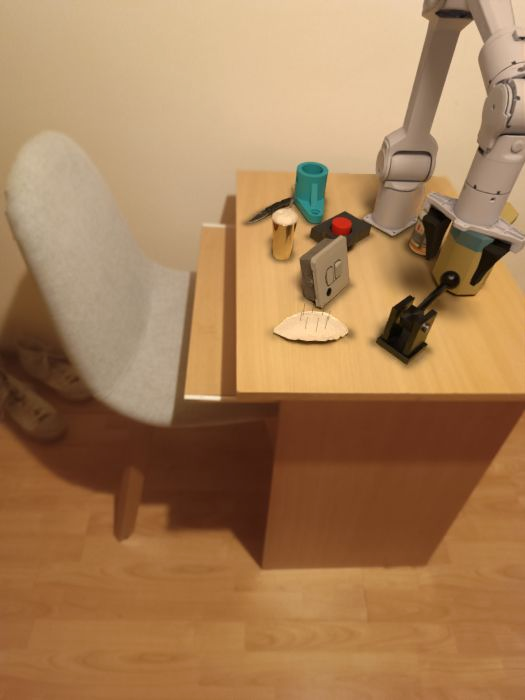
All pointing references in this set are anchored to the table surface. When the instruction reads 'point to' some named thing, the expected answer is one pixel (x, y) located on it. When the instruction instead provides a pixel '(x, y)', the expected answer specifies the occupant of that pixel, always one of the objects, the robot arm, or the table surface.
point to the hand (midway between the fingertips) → (452, 269)
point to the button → (341, 226)
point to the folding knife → (271, 209)
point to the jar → (467, 254)
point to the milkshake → (283, 232)
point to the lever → (429, 300)
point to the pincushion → (311, 326)
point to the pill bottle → (419, 235)
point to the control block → (356, 234)
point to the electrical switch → (325, 270)
